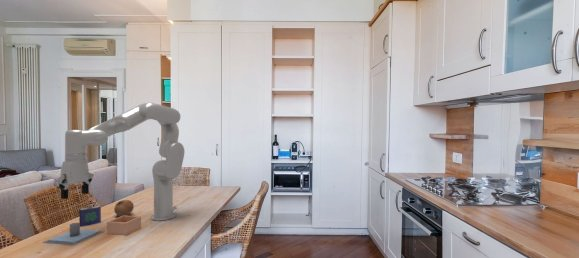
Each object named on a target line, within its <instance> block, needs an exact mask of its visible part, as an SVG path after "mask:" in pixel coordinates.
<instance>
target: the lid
mask: <svg viewBox="0 0 579 258" xmlns="http://www.w3.org/2000/svg"><path fill="white" fill-rule="evenodd" d="M99 231H100V230H93V229H92V230H91V229H82V228H81V227H80V223H79V222H74V223H70V224H69V231H67V232H64V233H62V234H59V235H57V236H55V237H52V238H49V239H48V242H59V243H71V244H74V243H77V242H79V241H81V240H83V239H86V238H88V237H90V236H93V235H95V234H97V233H99Z"/></svg>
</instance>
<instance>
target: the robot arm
mask: <svg viewBox="0 0 579 258" xmlns="http://www.w3.org/2000/svg"><path fill="white" fill-rule="evenodd" d="M148 120H154V121H157V123H158V124H159V125H160V126H161V129H162V135H161V139H160V144H159V150H158V154H159V156H160V157H162V158H165V159H161V160H158V161H155V163H154V164H153V165H152V171H151V172H152V178H153V214H152V215H151V216H150V220H152V221H161V222H162V221H167V220H171V219H174V218H176V216H177V215H176V212H174V211H175V210H177V206H176V205H173V202H174V200H173V199H174V198H173V197H174V196H173V195H174V194H173V193H174V192H173V189H174V186H173V180H175V179H177V177H179V176H180V174H181V171H182V168H183V167H182V166H183V161H184V158H185V147H184V145H183V144H182V143H181V142H180V141H179V135H180V130H179V126H178V123H179V122H180V120H181V113H180V112H179V110H177V109H175V108H173V107H170V106H169V107H168V106H166V105H161V104H159V103H155V102H146V103H145V102H144V103H141V104H139V105H137V106H135V107H132V108H130V109H128V110H127V111H125V112H122V113H120V114H119V115H116V116H114V117H112V118H110V119H107V120H106V121H103V122H101V123H98V124H96V125H94V126H93V127H91V128H89V129H86V130H83V129H68V130H66V131H65V134H64V135H65V136H64V161H62V163H61V169H60V174H59V175H60V177H58V178H56V179H55V180H54V184H55V185H56V187H57V188H58V190H60V199H62V200H67V199H69V189H68V188H69V186H70V185H74V184H80V183H82V184H81V194H83V195H87V194H88V195H89V192H90V191H89V190H90V188H89V187H90V185H91V182H92V181H93V178H94V174H93V173H91V172H89V170H90V169H89V163H88V160H87V157H88V154H87V146H95V147H98V146H103V145H105V144H106V143H107V142H108V140H109V137H111V136H114V135H116V134H119V133H123V132H126V131H130V130H131V129H133V128H136V127H137V126H139V125H141V124H143V123H144V122H146V121H148Z"/></svg>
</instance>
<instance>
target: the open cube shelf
mask: <svg viewBox="0 0 579 258" xmlns="http://www.w3.org/2000/svg"><path fill="white" fill-rule="evenodd" d="M141 229H142V216H138V215H137V216H136V215H126V216H124V215H123V216H118V217H116V218H114V219H111V220H108V221H106V235H118V236H119V235H121V236H125V237H128V236H130V235H131V234H133V233H135V232H137V231H140V230H141Z"/></svg>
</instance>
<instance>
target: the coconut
mask: <svg viewBox="0 0 579 258" xmlns="http://www.w3.org/2000/svg"><path fill="white" fill-rule="evenodd" d="M134 207H135V206H134V203H133V202H132V201H131V200H129V199H124V200H119V201H118V202H117V203H116V204H115V206H114V209H113V210H114V211H113V212H114V213H115V214H116V216H118V217H121V216H123V215H124V216H130V214H131V213H132V212H133V210H134Z"/></svg>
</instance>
